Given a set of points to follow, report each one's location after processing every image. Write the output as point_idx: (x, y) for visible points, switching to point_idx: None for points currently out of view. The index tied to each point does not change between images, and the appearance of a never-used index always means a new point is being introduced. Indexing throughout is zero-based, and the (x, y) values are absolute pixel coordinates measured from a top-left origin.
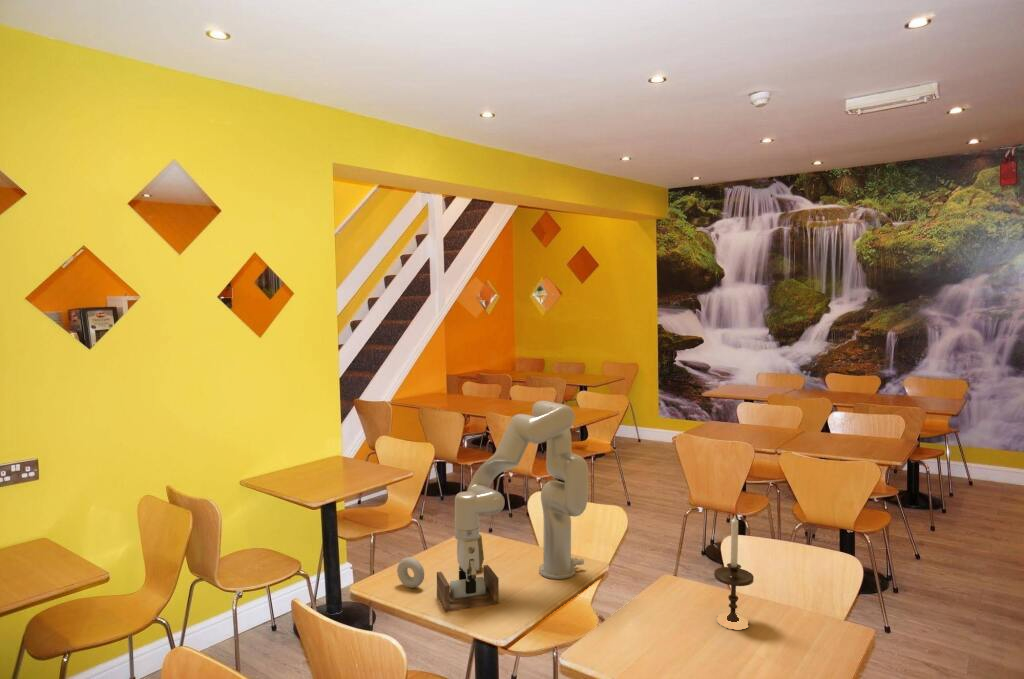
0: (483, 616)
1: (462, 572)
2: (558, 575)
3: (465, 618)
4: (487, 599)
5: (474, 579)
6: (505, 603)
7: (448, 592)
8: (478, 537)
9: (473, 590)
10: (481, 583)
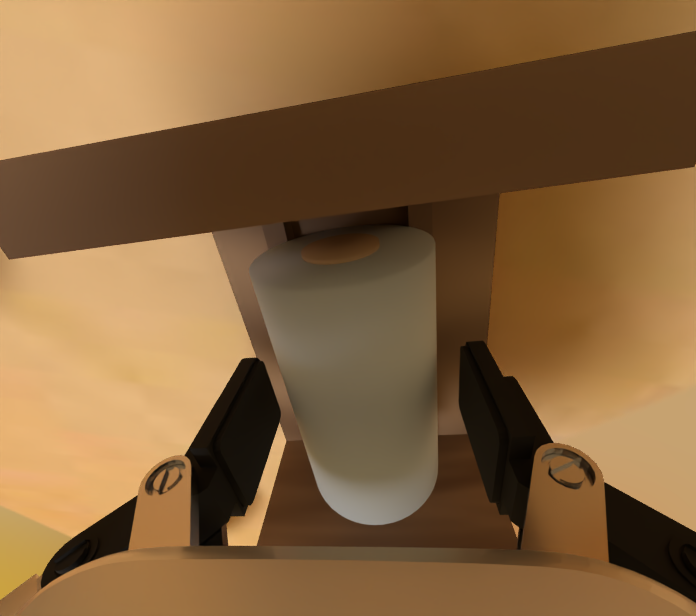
0: (641, 266)
1: (245, 482)
2: None
3: (594, 367)
4: (450, 204)
5: (635, 505)
6: (522, 16)
7: (515, 541)
8: None
9: (512, 380)
10: (419, 301)
